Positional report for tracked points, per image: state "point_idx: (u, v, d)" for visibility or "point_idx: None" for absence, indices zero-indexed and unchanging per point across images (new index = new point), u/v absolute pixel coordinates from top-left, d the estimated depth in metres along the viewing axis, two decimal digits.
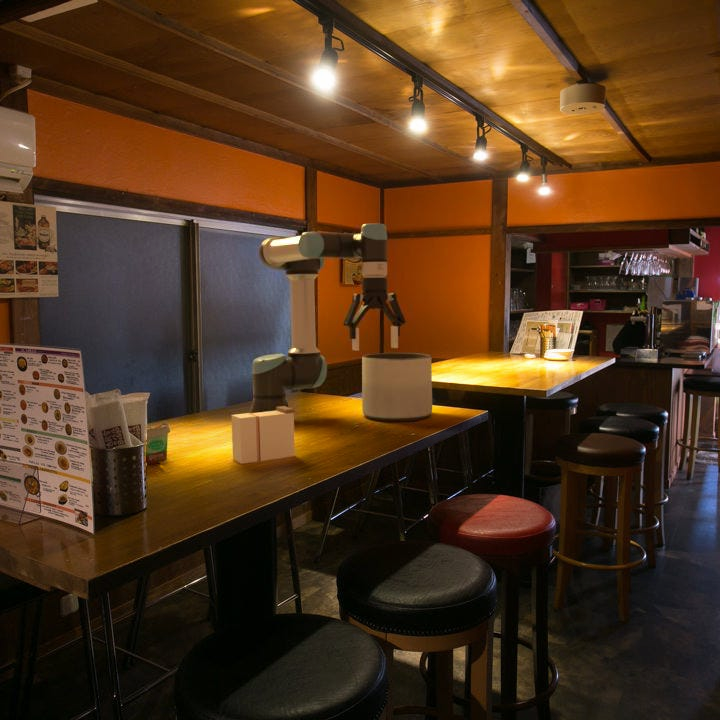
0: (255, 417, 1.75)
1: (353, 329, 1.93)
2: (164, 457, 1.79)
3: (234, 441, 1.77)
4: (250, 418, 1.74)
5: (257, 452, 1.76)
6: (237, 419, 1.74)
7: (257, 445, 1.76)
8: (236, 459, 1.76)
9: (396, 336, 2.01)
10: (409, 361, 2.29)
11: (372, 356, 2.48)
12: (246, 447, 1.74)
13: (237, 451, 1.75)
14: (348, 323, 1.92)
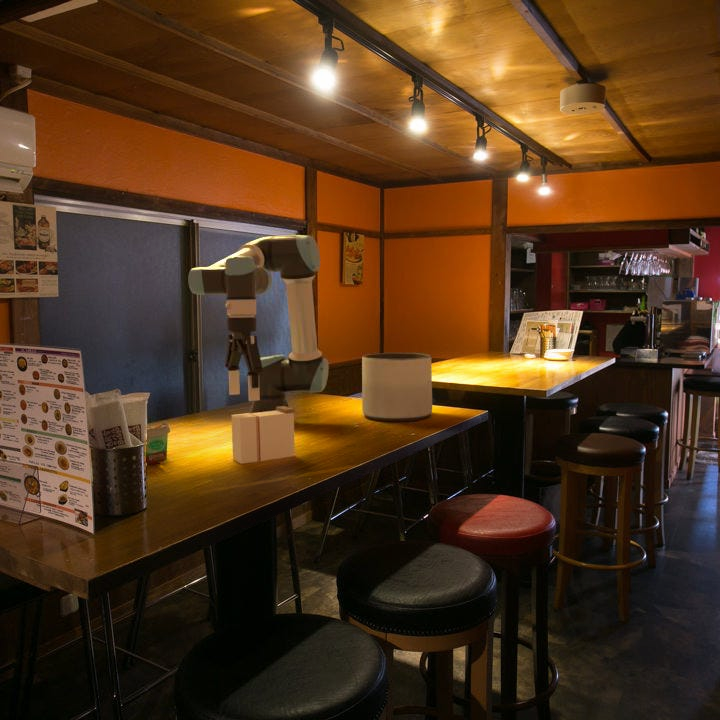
0: (255, 417, 1.75)
1: None
2: (164, 457, 1.79)
3: (234, 441, 1.77)
4: (250, 418, 1.74)
5: (257, 452, 1.76)
6: (237, 419, 1.74)
7: (257, 445, 1.76)
8: (236, 459, 1.76)
9: (248, 387, 1.69)
10: (409, 361, 2.29)
11: (372, 356, 2.48)
12: (246, 447, 1.74)
13: (237, 451, 1.75)
14: (225, 364, 1.83)
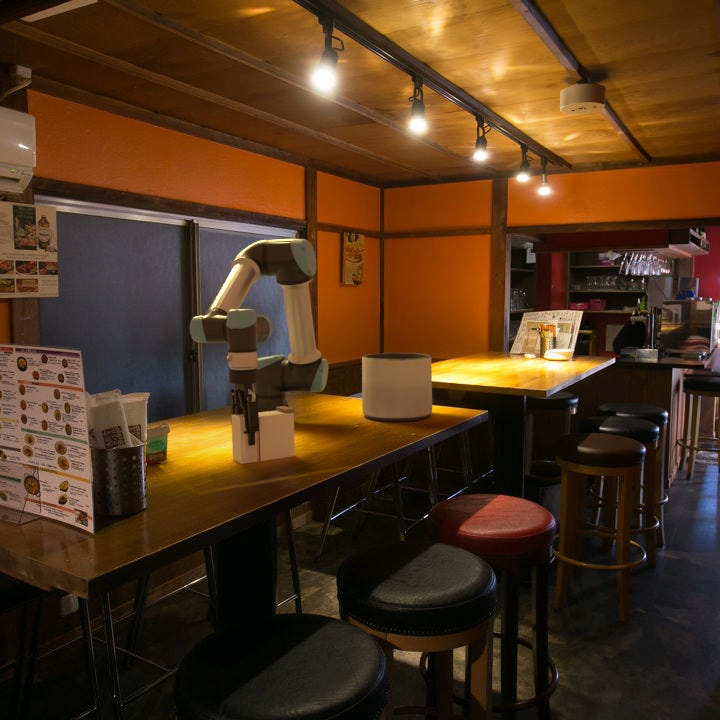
0: None
1: None
2: (164, 457, 1.79)
3: (234, 441, 1.77)
4: None
5: (257, 452, 1.76)
6: (237, 419, 1.74)
7: (257, 445, 1.76)
8: (236, 459, 1.76)
9: (245, 444, 1.73)
10: (409, 361, 2.29)
11: (372, 356, 2.48)
12: None
13: (237, 451, 1.75)
14: (231, 422, 1.81)
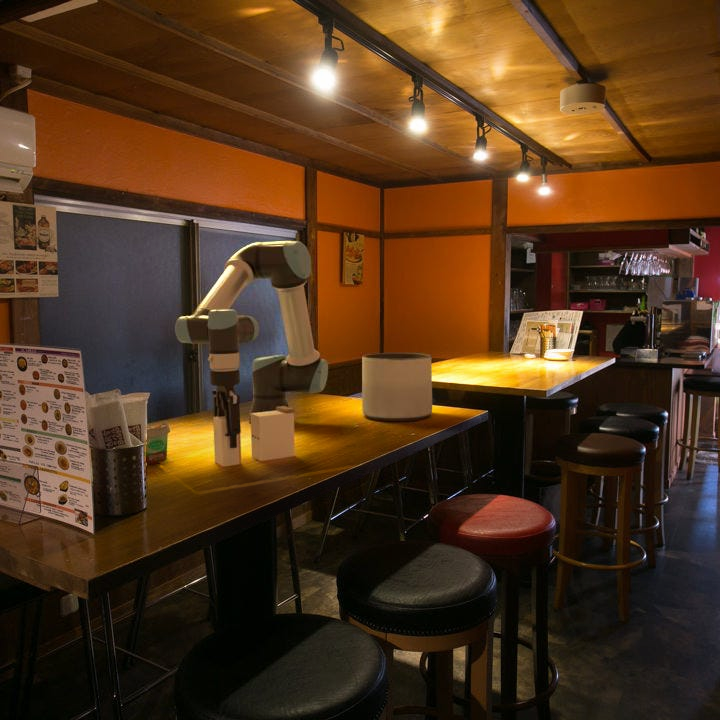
0: None
1: None
2: (164, 457, 1.79)
3: (216, 444, 1.74)
4: None
5: (239, 455, 1.73)
6: (219, 421, 1.71)
7: (239, 448, 1.73)
8: (218, 462, 1.74)
9: (227, 447, 1.71)
10: (409, 361, 2.29)
11: (372, 356, 2.48)
12: None
13: (218, 453, 1.73)
14: (213, 424, 1.79)
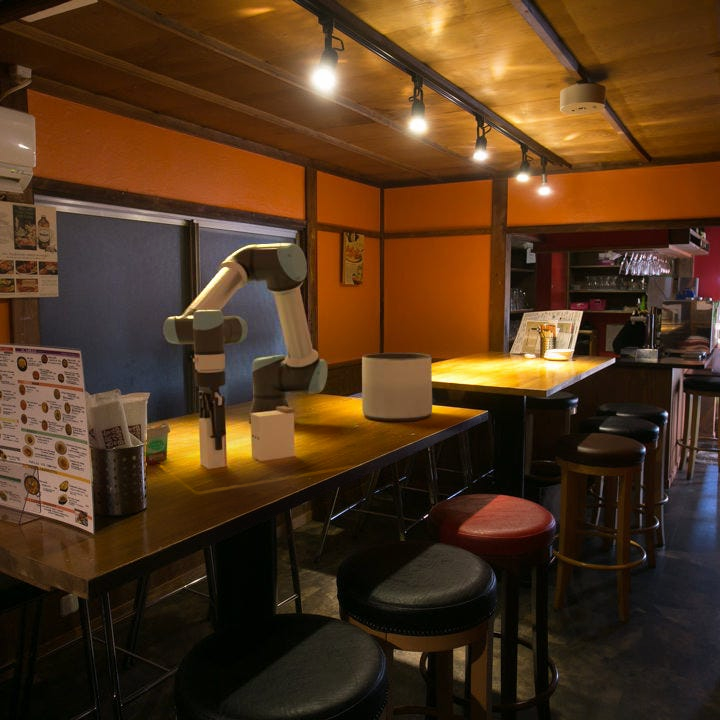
0: None
1: None
2: (164, 457, 1.79)
3: (201, 446, 1.72)
4: None
5: (225, 457, 1.71)
6: (204, 423, 1.69)
7: (225, 450, 1.71)
8: (203, 464, 1.72)
9: (212, 449, 1.69)
10: (409, 361, 2.29)
11: (372, 356, 2.48)
12: None
13: (204, 455, 1.71)
14: None
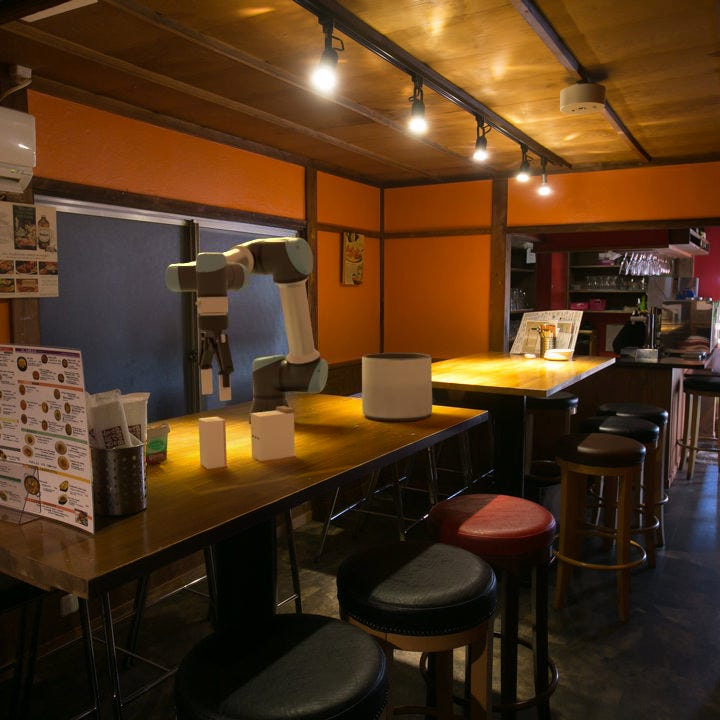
0: (222, 421, 1.70)
1: None
2: (164, 457, 1.79)
3: (201, 446, 1.72)
4: (217, 422, 1.69)
5: (224, 457, 1.71)
6: (204, 423, 1.69)
7: (224, 450, 1.71)
8: (203, 464, 1.72)
9: (219, 386, 1.65)
10: (409, 361, 2.29)
11: (372, 356, 2.48)
12: (213, 452, 1.69)
13: (204, 455, 1.71)
14: (198, 363, 1.79)
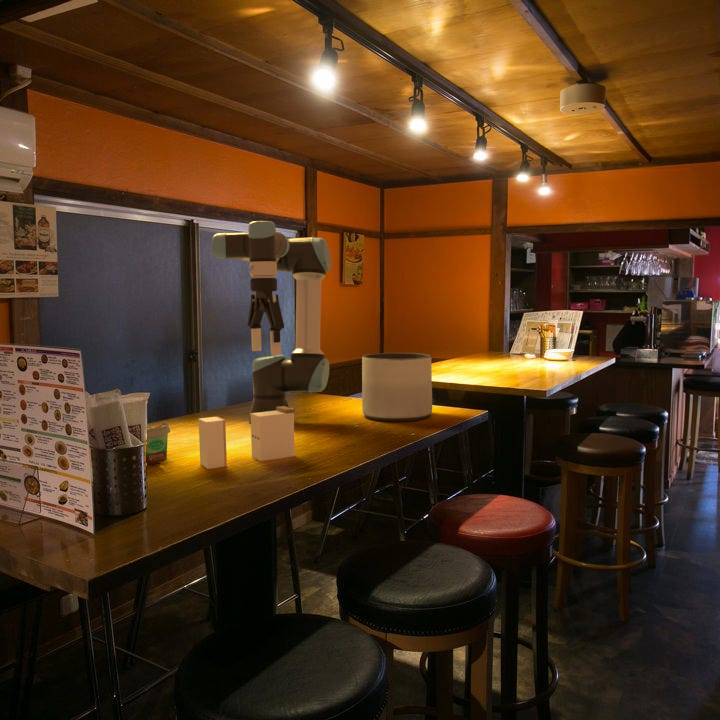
0: (222, 421, 1.70)
1: None
2: (164, 457, 1.79)
3: (201, 446, 1.72)
4: (217, 422, 1.69)
5: (224, 457, 1.71)
6: (204, 423, 1.69)
7: (224, 450, 1.71)
8: (203, 464, 1.72)
9: (271, 342, 1.83)
10: (409, 361, 2.29)
11: (372, 356, 2.48)
12: (213, 452, 1.69)
13: (204, 455, 1.71)
14: None
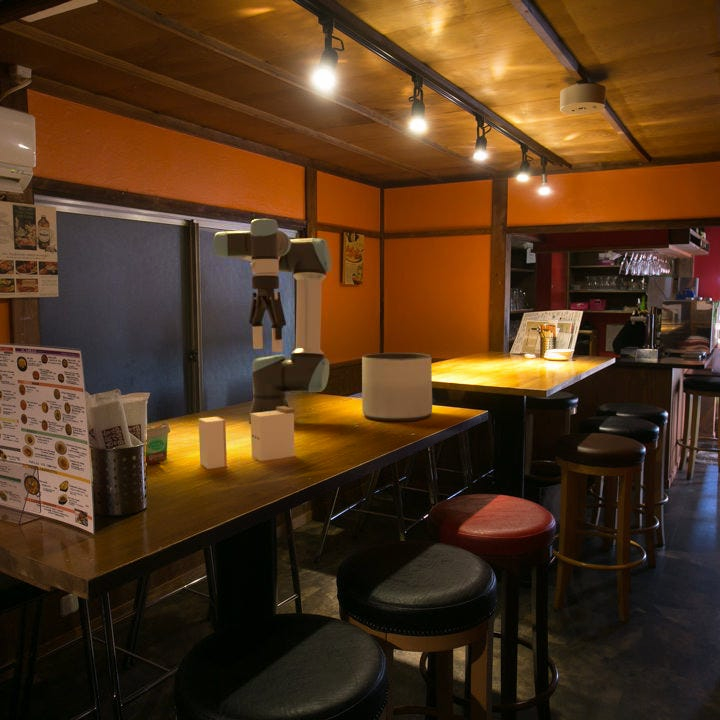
0: (222, 421, 1.70)
1: None
2: (164, 457, 1.79)
3: (201, 446, 1.72)
4: (217, 422, 1.69)
5: (224, 457, 1.71)
6: (204, 423, 1.69)
7: (224, 450, 1.71)
8: (203, 464, 1.72)
9: (272, 339, 1.83)
10: (409, 361, 2.29)
11: (372, 356, 2.48)
12: (213, 452, 1.69)
13: (204, 455, 1.71)
14: (249, 321, 1.97)
